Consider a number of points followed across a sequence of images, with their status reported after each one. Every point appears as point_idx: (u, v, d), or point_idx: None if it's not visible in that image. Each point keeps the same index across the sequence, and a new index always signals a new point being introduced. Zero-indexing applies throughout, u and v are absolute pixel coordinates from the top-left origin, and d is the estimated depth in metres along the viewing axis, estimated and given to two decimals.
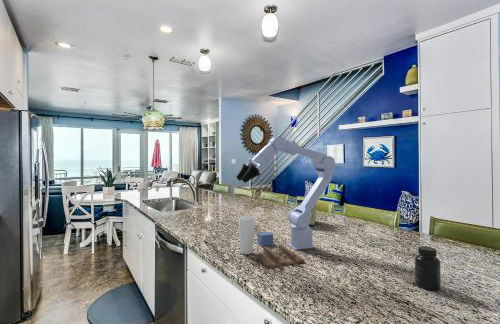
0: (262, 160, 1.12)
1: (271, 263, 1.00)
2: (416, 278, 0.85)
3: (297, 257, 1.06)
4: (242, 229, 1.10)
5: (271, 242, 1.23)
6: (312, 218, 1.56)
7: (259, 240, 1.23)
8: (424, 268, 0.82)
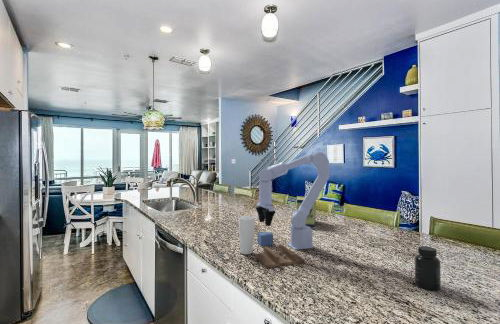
0: (267, 198, 1.22)
1: (271, 263, 1.00)
2: (416, 278, 0.85)
3: (297, 257, 1.06)
4: (242, 229, 1.10)
5: (271, 242, 1.23)
6: (312, 218, 1.56)
7: (259, 240, 1.23)
8: (424, 268, 0.82)
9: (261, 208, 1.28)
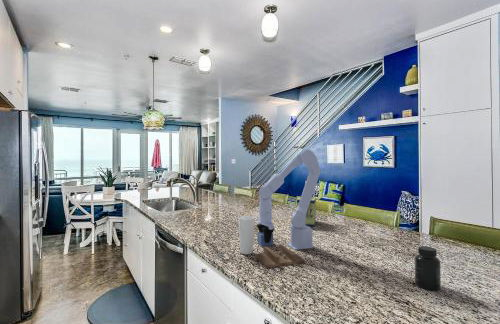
0: (267, 216, 1.22)
1: (271, 263, 1.00)
2: (416, 278, 0.85)
3: (297, 257, 1.06)
4: (242, 229, 1.10)
5: (271, 242, 1.23)
6: (312, 218, 1.56)
7: (259, 240, 1.23)
8: (424, 268, 0.82)
9: (262, 226, 1.27)
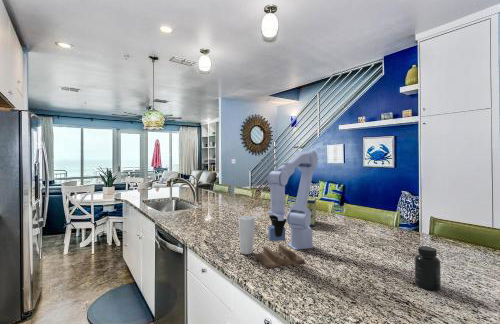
0: (278, 205, 1.04)
1: (271, 263, 1.00)
2: (416, 278, 0.85)
3: (297, 257, 1.06)
4: (242, 229, 1.10)
5: (283, 237, 1.05)
6: (312, 218, 1.56)
7: (269, 234, 1.07)
8: (424, 268, 0.82)
9: (275, 217, 1.10)
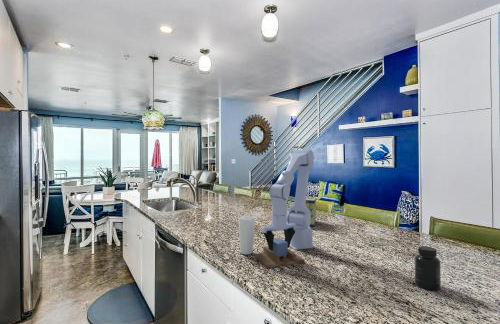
0: (272, 218, 1.05)
1: (271, 263, 1.00)
2: (416, 278, 0.85)
3: (297, 257, 1.06)
4: (242, 229, 1.10)
5: (276, 252, 1.03)
6: (312, 218, 1.56)
7: None
8: (424, 268, 0.82)
9: (286, 231, 1.08)
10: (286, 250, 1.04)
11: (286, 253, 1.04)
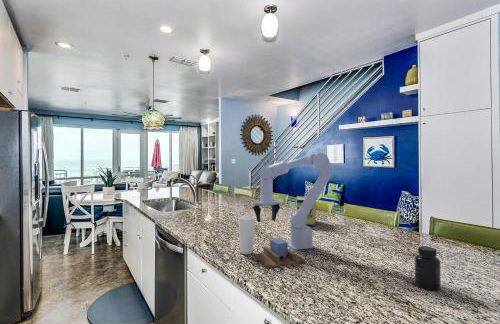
0: (260, 195, 1.25)
1: (271, 263, 1.00)
2: (416, 278, 0.85)
3: (297, 257, 1.06)
4: (242, 229, 1.10)
5: (276, 252, 1.03)
6: (312, 218, 1.56)
7: None
8: (424, 268, 0.82)
9: (273, 206, 1.27)
10: (286, 250, 1.04)
11: (286, 253, 1.04)
